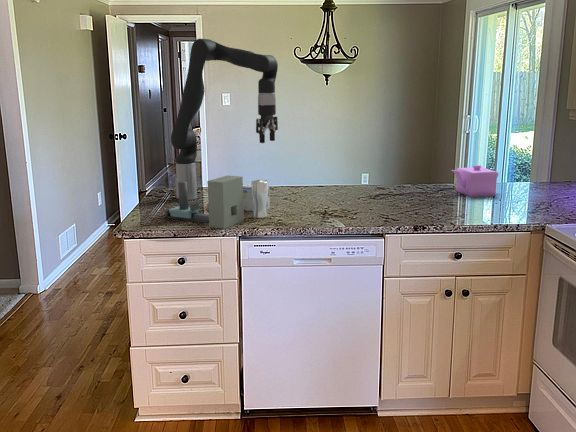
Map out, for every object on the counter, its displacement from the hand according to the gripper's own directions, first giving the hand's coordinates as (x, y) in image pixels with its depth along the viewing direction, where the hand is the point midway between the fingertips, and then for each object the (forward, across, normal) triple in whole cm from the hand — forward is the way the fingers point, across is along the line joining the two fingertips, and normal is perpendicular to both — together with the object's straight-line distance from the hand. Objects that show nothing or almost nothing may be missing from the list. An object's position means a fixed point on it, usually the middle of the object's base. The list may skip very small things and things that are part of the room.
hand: (267, 141), depth 241 cm
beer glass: (+29, +16, +6) cm, 34 cm away
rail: (+29, +32, -16) cm, 47 cm away
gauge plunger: (+25, +32, -3) cm, 41 cm away
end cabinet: (+29, +32, 0) cm, 43 cm away
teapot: (+29, -71, +75) cm, 108 cm away
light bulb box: (+29, +6, -2) cm, 30 cm away
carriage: (+28, +32, -21) cm, 48 cm away
